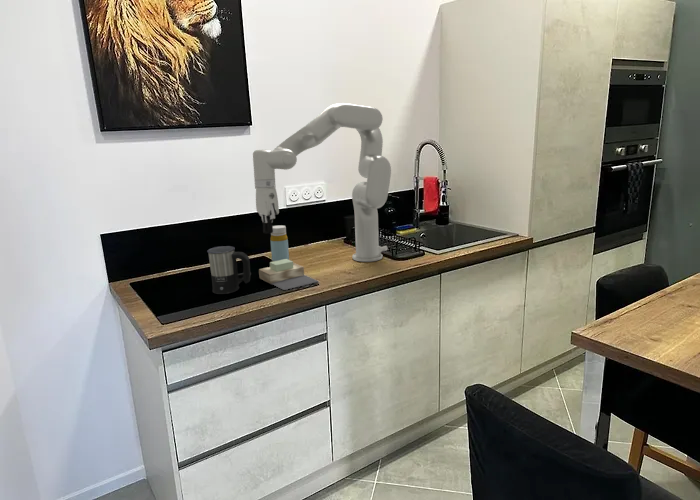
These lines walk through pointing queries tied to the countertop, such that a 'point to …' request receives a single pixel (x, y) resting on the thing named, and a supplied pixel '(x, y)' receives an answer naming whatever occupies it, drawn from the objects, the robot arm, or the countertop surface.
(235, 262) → the milk frother
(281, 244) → the bottle
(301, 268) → the birch board
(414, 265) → the countertop surface
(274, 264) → the green block
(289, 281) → the rubber mat
